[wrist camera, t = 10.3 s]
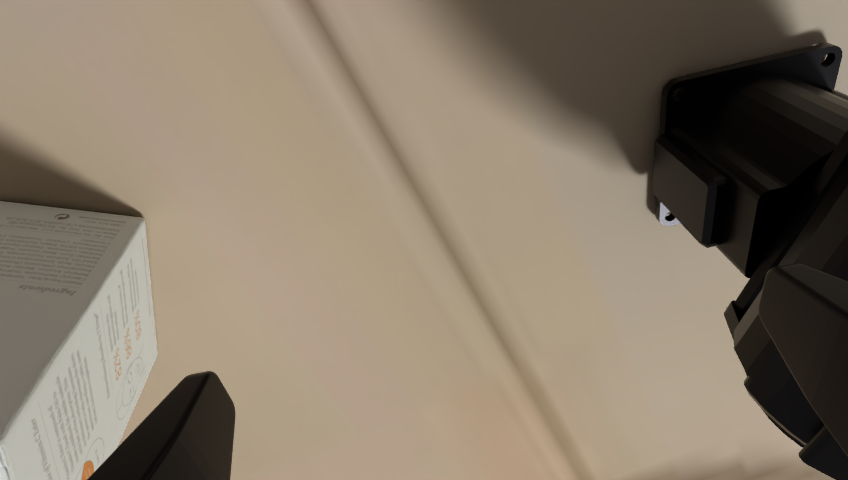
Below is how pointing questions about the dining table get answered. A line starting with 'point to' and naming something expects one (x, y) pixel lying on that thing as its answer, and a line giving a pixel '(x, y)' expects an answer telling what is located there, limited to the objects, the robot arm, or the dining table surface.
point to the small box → (70, 337)
